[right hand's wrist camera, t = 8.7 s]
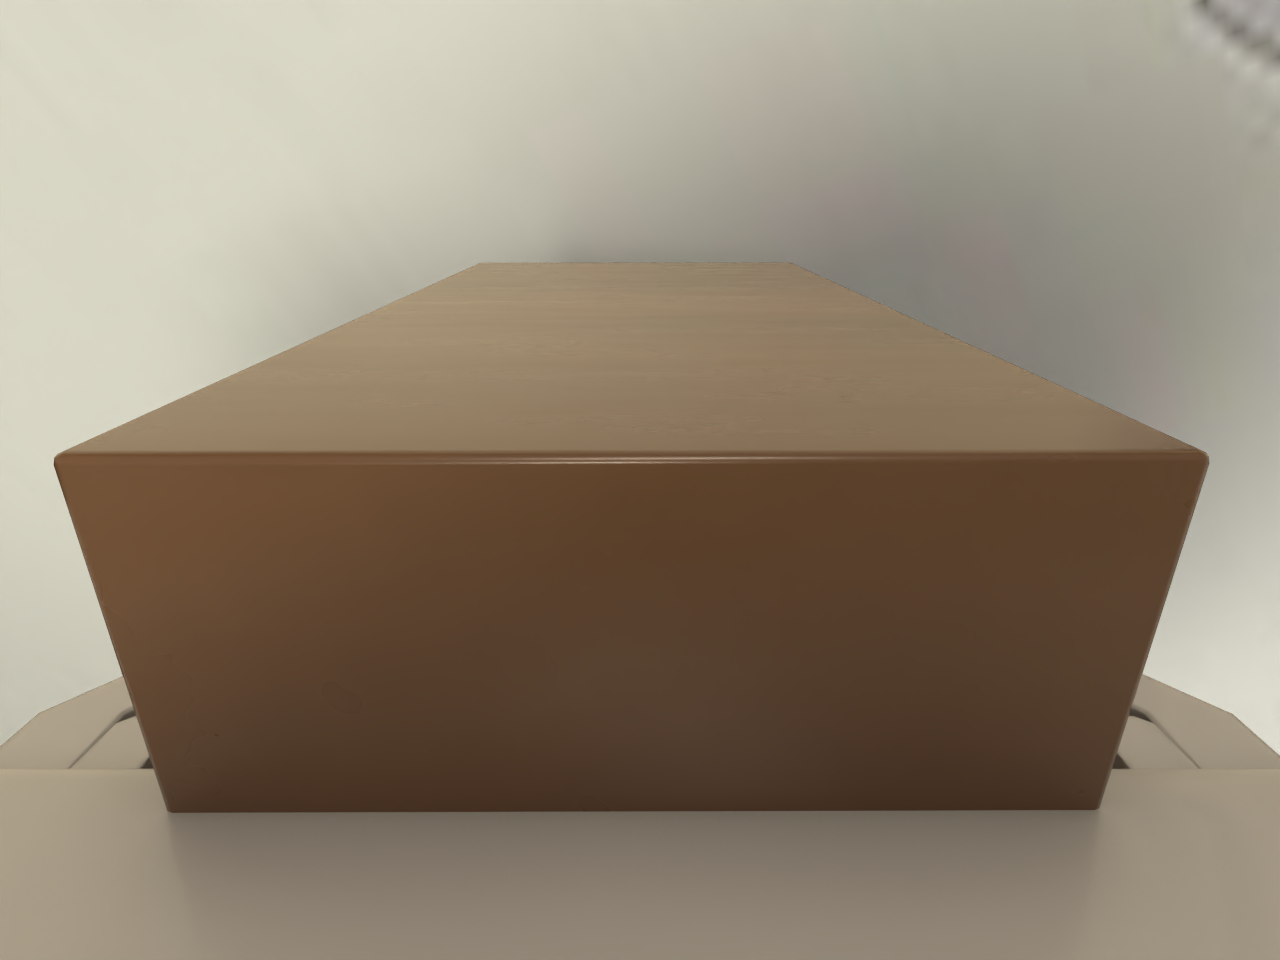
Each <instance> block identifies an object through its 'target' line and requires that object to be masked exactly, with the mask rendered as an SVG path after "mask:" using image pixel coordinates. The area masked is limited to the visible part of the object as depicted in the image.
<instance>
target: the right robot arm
mask: <svg viewBox="0 0 1280 960" xmlns="http://www.w3.org/2000/svg"><path fill="white" fill-rule="evenodd" d="M0 960H1280V756H1279V755H1278V754H1277V753H1276V752H1275V751H1274V750H1273V749H1272V748H1270V747H1269V746H1268V745H1267V744H1266V743H1265V742H1264V741H1262V740H1261V739H1260V738H1259V737H1258V736H1257V735H1256V734H1255V733H1253V732H1252V731H1251V730H1250V729H1249V728H1248V727H1247V726H1245V725H1244V724H1243V723H1242V722H1241V721H1240V720H1239V719H1238V718H1236V717H1235V716H1234V715H1233V714H1231V713H1229V712H1227V711H1224V710H1222V709H1220V708H1218V707H1215V706H1213V705H1211V704H1208V703H1206V702H1204V701H1202V700H1199V699H1197V698H1195V697H1193V696H1190V695H1188V694H1186V693H1184V692H1181V691H1179V690H1177V689H1175V688H1172V687H1170V686H1168V685H1166V684H1163V683H1161V682H1159V681H1157V680H1154V679H1152V678H1150V677H1148V676H1145V675H1143V674H1142V676H1141V679H1140V682H1139V685H1138V688H1137V692H1136V695H1135V698H1134V701H1133V704H1132V707H1131V710H1130V713H1129V717H1128V720H1127V723H1126V726H1125V729H1124V732H1123V735H1122V739H1121V742H1120V745H1119V748H1118V751H1117V754H1116V757H1115V761H1114V764H1113V767H1112V770H1111V773H1110V776H1109V779H1108V783H1107V786H1106V789H1105V792H1104V795H1103V798H1102V801H1101V805H1100V808H1099V809H1096V810H959V811H624V812H289V813H171V812H169V811H167V808H166V805H165V802H164V799H163V796H162V793H161V790H160V787H159V784H158V781H157V778H156V775H155V772H154V769H153V766H152V763H151V760H150V757H149V754H148V751H147V748H146V744H145V741H144V738H143V735H142V732H141V729H140V726H139V723H138V720H137V717H136V714H135V711H134V708H133V705H132V702H131V699H130V696H129V693H128V690H127V687H126V684H125V680H124V677H120V678H118V679H116V680H114V681H111V682H109V683H107V684H105V685H102V686H100V687H98V688H95V689H93V690H91V691H89V692H86V693H84V694H82V695H79V696H77V697H75V698H73V699H70V700H68V701H66V702H63V703H61V704H59V705H57V706H54V707H52V708H50V709H47V710H45V711H43V712H41V713H39V714H37V715H36V716H35V717H34V718H33V719H32V720H31V721H29V722H28V723H27V724H26V725H25V726H24V727H22V728H21V729H20V730H19V731H18V732H17V733H15V734H14V735H13V736H12V737H11V738H10V739H8V740H7V741H6V742H5V743H4V744H3V745H2V746H0Z"/></svg>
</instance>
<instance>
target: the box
mask: <svg viewBox="0 0 1280 960" xmlns="http://www.w3.org/2000/svg"><path fill="white" fill-rule="evenodd" d="M1208 465H1209V456H1208V455H1207V454H1206V452H1204V451H1201V450H1199V449H1197V448H1195V447H1193V446H1190V445H1188V444H1186V443H1184V442H1182V441H1180V440H1177V439H1175V438H1173V437H1171V436H1169V435H1166V434H1164V433H1162V432H1160V431H1158V430H1155V429H1153V428H1151V427H1149V426H1147V425H1145V424H1142V423H1140V422H1138V421H1136V420H1134V419H1131V418H1129V417H1127V416H1125V415H1123V414H1120V413H1118V412H1116V411H1114V410H1112V409H1109V408H1107V407H1105V406H1103V405H1101V404H1099V403H1096V402H1094V401H1092V400H1090V399H1088V398H1085V397H1083V396H1081V395H1079V394H1077V393H1074V392H1072V391H1070V390H1068V389H1066V388H1064V387H1061V386H1059V385H1057V384H1055V383H1053V382H1050V381H1048V380H1046V379H1044V378H1042V377H1039V376H1037V375H1035V374H1033V373H1031V372H1029V371H1026V370H1024V369H1022V368H1020V367H1018V366H1015V365H1013V364H1011V363H1009V362H1007V361H1004V360H1002V359H1000V358H998V357H996V356H994V355H991V354H989V353H987V352H985V351H983V350H980V349H978V348H976V347H974V346H972V345H969V344H967V343H965V342H963V341H961V340H958V339H956V338H954V337H952V336H950V335H948V334H945V333H943V332H941V331H939V330H937V329H934V328H932V327H930V326H928V325H926V324H923V323H921V322H919V321H917V320H915V319H913V318H910V317H908V316H906V315H904V314H902V313H899V312H897V311H895V310H893V309H891V308H888V307H886V306H884V305H882V304H880V303H878V302H875V301H873V300H871V299H869V298H867V297H864V296H862V295H860V294H858V293H856V292H853V291H851V290H849V289H847V288H845V287H842V286H840V285H838V284H836V283H834V282H832V281H829V280H827V279H825V278H823V277H821V276H818V275H816V274H814V273H812V272H810V271H807V270H805V269H803V268H801V267H799V266H797V265H794V264H792V263H479V264H477V265H475V266H473V267H470V268H468V269H466V270H464V271H462V272H459V273H457V274H455V275H453V276H450V277H448V278H446V279H444V280H442V281H439V282H437V283H435V284H433V285H431V286H428V287H426V288H424V289H422V290H419V291H417V292H415V293H413V294H411V295H408V296H406V297H404V298H402V299H400V300H397V301H395V302H393V303H391V304H388V305H386V306H384V307H382V308H380V309H377V310H375V311H373V312H371V313H369V314H366V315H364V316H362V317H360V318H358V319H355V320H353V321H351V322H349V323H346V324H344V325H342V326H340V327H338V328H335V329H333V330H331V331H329V332H327V333H324V334H322V335H320V336H318V337H315V338H313V339H311V340H309V341H307V342H304V343H302V344H300V345H298V346H296V347H293V348H291V349H289V350H287V351H284V352H282V353H280V354H278V355H276V356H273V357H271V358H269V359H267V360H265V361H262V362H260V363H258V364H256V365H253V366H251V367H249V368H247V369H245V370H242V371H240V372H238V373H236V374H234V375H231V376H229V377H227V378H225V379H222V380H220V381H218V382H216V383H214V384H211V385H209V386H207V387H205V388H203V389H200V390H198V391H196V392H194V393H192V394H189V395H187V396H185V397H183V398H180V399H178V400H176V401H174V402H172V403H169V404H167V405H165V406H163V407H161V408H158V409H156V410H154V411H152V412H149V413H147V414H145V415H143V416H141V417H138V418H136V419H134V420H132V421H130V422H127V423H125V424H123V425H121V426H118V427H116V428H114V429H112V430H110V431H107V432H105V433H103V434H101V435H99V436H96V437H94V438H92V439H90V440H87V441H85V442H83V443H81V444H79V445H76V446H74V447H72V448H70V449H68V450H65V451H63V452H61V453H59V454H57V455H56V456H55V458H54V467H55V470H56V473H57V476H58V479H59V482H60V485H61V488H62V492H63V495H64V498H65V501H66V504H67V507H68V510H69V513H70V516H71V519H72V522H73V525H74V528H75V531H76V534H77V537H78V540H79V543H80V546H81V549H82V552H83V556H84V559H85V562H86V565H87V568H88V571H89V574H90V577H91V580H92V583H93V586H94V589H95V592H96V595H97V598H98V601H99V604H100V607H101V610H102V613H103V616H104V620H105V623H106V626H107V629H108V632H109V635H110V638H111V641H112V644H113V647H114V650H115V653H116V656H117V659H118V662H119V665H120V668H121V671H122V674H123V677H124V680H125V684H126V687H127V690H128V693H129V696H130V699H131V702H132V705H133V708H134V711H135V714H136V717H137V720H138V723H139V726H140V729H141V732H142V735H143V738H144V741H145V744H146V748H147V751H148V754H149V757H150V760H151V763H152V766H153V769H154V772H155V775H156V778H157V781H158V784H159V787H160V790H161V793H162V796H163V799H164V802H165V805H166V808H167V811H169V812H171V813H289V812H624V811H959V810H1096V809H1099V808H1100V805H1101V801H1102V798H1103V795H1104V792H1105V789H1106V786H1107V783H1108V779H1109V776H1110V773H1111V770H1112V767H1113V764H1114V761H1115V757H1116V754H1117V751H1118V748H1119V745H1120V742H1121V739H1122V735H1123V732H1124V729H1125V726H1126V723H1127V720H1128V717H1129V713H1130V710H1131V707H1132V704H1133V701H1134V698H1135V695H1136V692H1137V688H1138V685H1139V682H1140V679H1141V676H1142V673H1143V670H1144V666H1145V663H1146V660H1147V657H1148V654H1149V651H1150V648H1151V644H1152V641H1153V638H1154V635H1155V632H1156V629H1157V626H1158V622H1159V619H1160V616H1161V613H1162V610H1163V607H1164V604H1165V600H1166V597H1167V594H1168V591H1169V588H1170V585H1171V582H1172V578H1173V575H1174V572H1175V569H1176V566H1177V563H1178V560H1179V556H1180V553H1181V550H1182V547H1183V544H1184V541H1185V538H1186V535H1187V531H1188V528H1189V525H1190V522H1191V519H1192V516H1193V513H1194V509H1195V506H1196V503H1197V500H1198V497H1199V494H1200V491H1201V487H1202V484H1203V481H1204V478H1205V475H1206V472H1207V469H1208Z"/></svg>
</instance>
